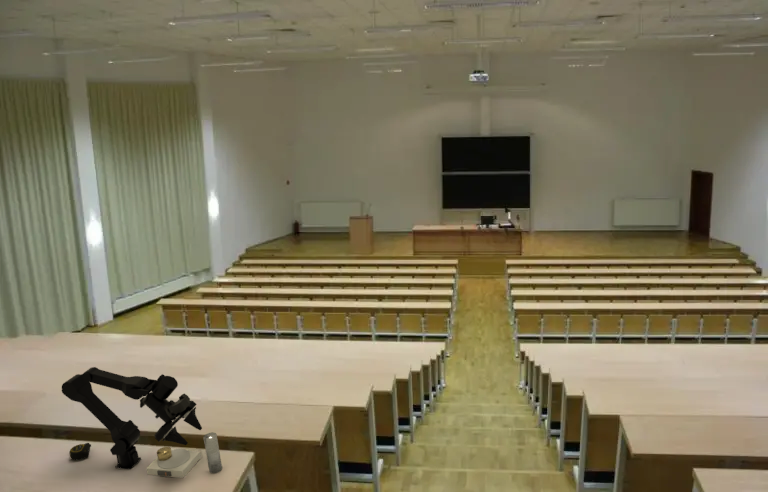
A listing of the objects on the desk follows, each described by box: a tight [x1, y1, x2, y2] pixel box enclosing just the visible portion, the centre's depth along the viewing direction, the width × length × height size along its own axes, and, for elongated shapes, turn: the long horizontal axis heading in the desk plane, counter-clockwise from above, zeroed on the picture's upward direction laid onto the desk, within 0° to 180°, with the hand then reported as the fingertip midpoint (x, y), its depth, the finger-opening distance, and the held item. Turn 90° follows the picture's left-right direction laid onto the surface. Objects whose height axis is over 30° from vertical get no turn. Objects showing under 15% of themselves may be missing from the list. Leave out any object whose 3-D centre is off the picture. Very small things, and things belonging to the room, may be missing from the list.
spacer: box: [203, 432, 223, 474], centre depth 205 cm, size 4×4×13 cm
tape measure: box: [68, 442, 92, 461], centre depth 221 cm, size 7×7×4 cm
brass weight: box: [156, 446, 172, 461], centre depth 210 cm, size 5×5×2 cm
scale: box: [146, 448, 202, 479], centre depth 210 cm, size 14×13×3 cm
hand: (194, 436), depth 205 cm, fingers open, 9 cm apart
